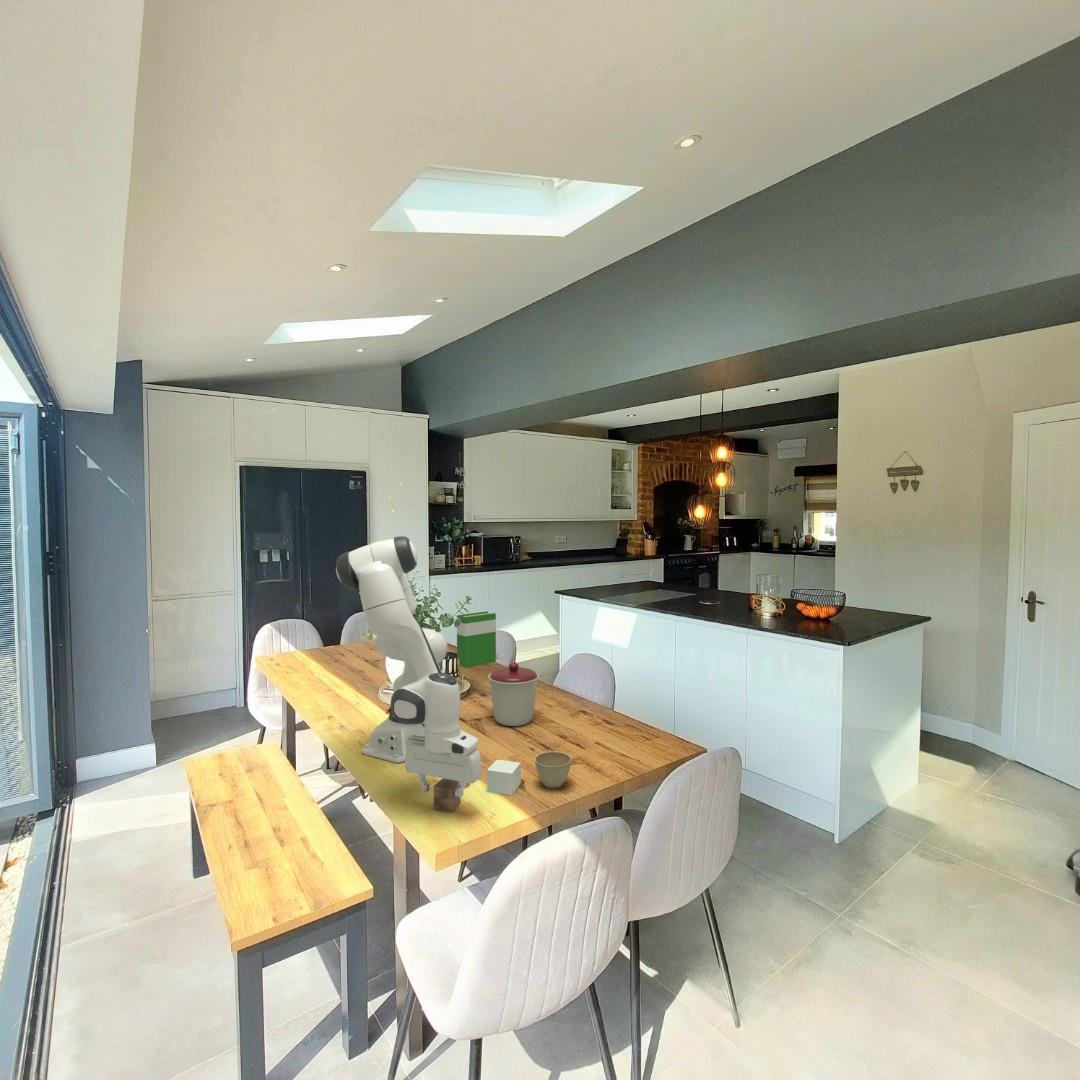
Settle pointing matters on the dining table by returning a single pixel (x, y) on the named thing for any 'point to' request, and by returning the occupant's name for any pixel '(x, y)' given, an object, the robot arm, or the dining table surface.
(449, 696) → the robot arm
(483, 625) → the hardback book
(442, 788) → the walnut block
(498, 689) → the canister
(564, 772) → the flower pot
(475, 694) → the dining table surface
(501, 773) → the grey block
